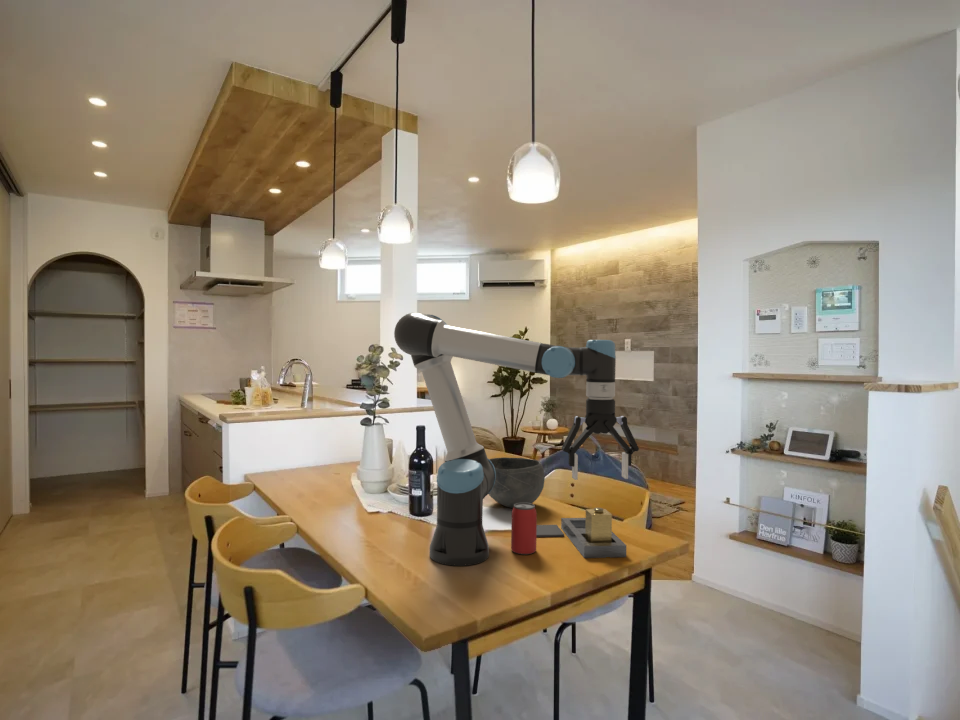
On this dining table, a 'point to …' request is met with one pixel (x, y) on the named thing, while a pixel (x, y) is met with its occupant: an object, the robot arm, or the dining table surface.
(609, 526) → the tall wooden peg block
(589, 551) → the tray
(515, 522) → the beer can
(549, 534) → the mat
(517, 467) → the bowl
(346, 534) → the dining table surface
